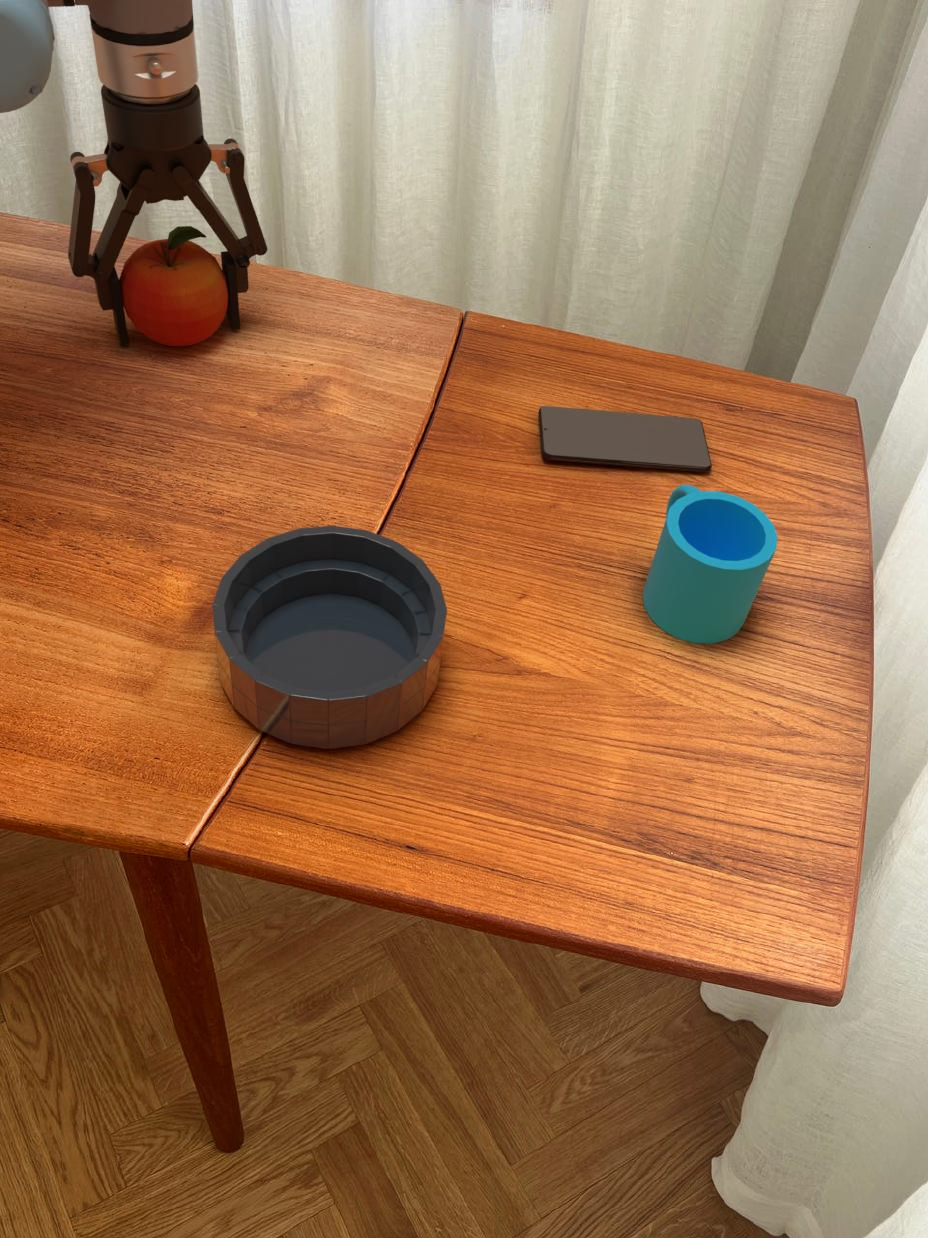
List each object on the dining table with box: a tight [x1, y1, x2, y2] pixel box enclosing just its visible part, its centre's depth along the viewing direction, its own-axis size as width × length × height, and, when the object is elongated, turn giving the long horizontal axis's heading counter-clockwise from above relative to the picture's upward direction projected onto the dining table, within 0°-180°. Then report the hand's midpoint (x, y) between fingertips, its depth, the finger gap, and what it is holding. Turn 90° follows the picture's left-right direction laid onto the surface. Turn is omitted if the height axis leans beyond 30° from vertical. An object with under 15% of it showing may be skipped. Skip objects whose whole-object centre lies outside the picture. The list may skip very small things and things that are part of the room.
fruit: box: [118, 225, 228, 347], centre depth 100 cm, size 10×10×10 cm
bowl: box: [211, 525, 448, 750], centre depth 77 cm, size 16×16×6 cm
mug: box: [641, 484, 779, 645], centre depth 85 cm, size 12×8×8 cm
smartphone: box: [537, 405, 713, 473], centre depth 98 cm, size 7×1×15 cm
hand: (178, 328), depth 103 cm, fingers closed on fruit, 9 cm apart
